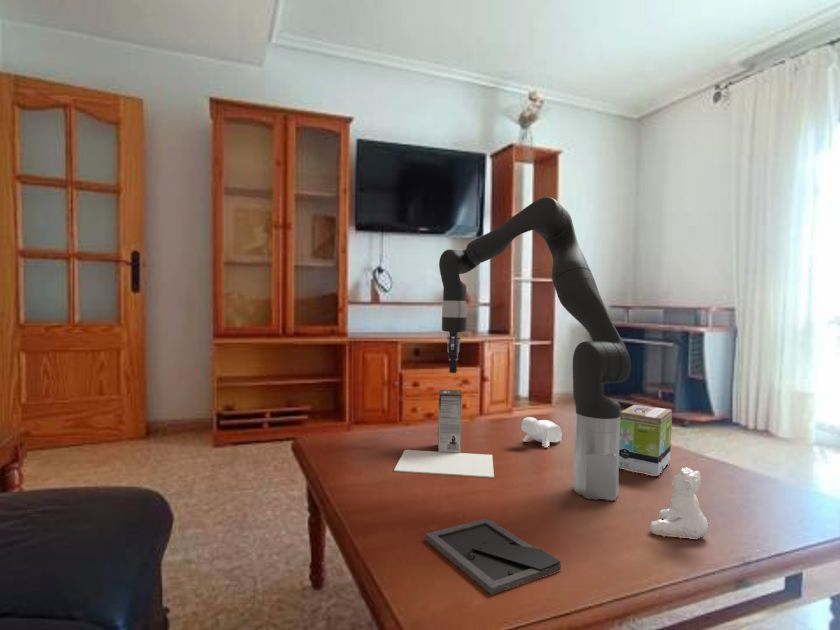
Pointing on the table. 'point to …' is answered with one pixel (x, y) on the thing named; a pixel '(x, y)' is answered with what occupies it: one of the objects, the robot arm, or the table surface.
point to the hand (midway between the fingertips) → (453, 372)
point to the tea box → (645, 439)
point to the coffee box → (449, 421)
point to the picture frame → (492, 555)
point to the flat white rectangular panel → (446, 463)
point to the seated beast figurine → (683, 509)
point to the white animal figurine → (541, 431)
